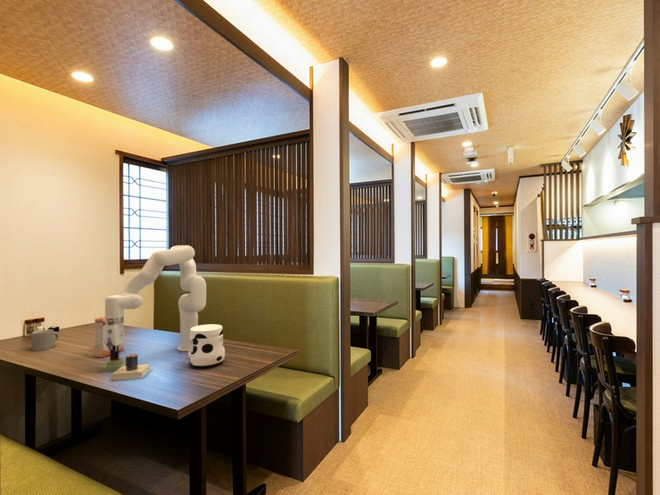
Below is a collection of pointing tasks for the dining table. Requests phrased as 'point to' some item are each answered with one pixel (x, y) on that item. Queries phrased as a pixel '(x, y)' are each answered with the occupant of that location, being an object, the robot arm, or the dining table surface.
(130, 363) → the knob
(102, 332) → the cracker box
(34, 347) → the coffee mug
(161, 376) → the dining table surface
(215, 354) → the milk container
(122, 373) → the panel
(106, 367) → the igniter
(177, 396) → the dining table surface
